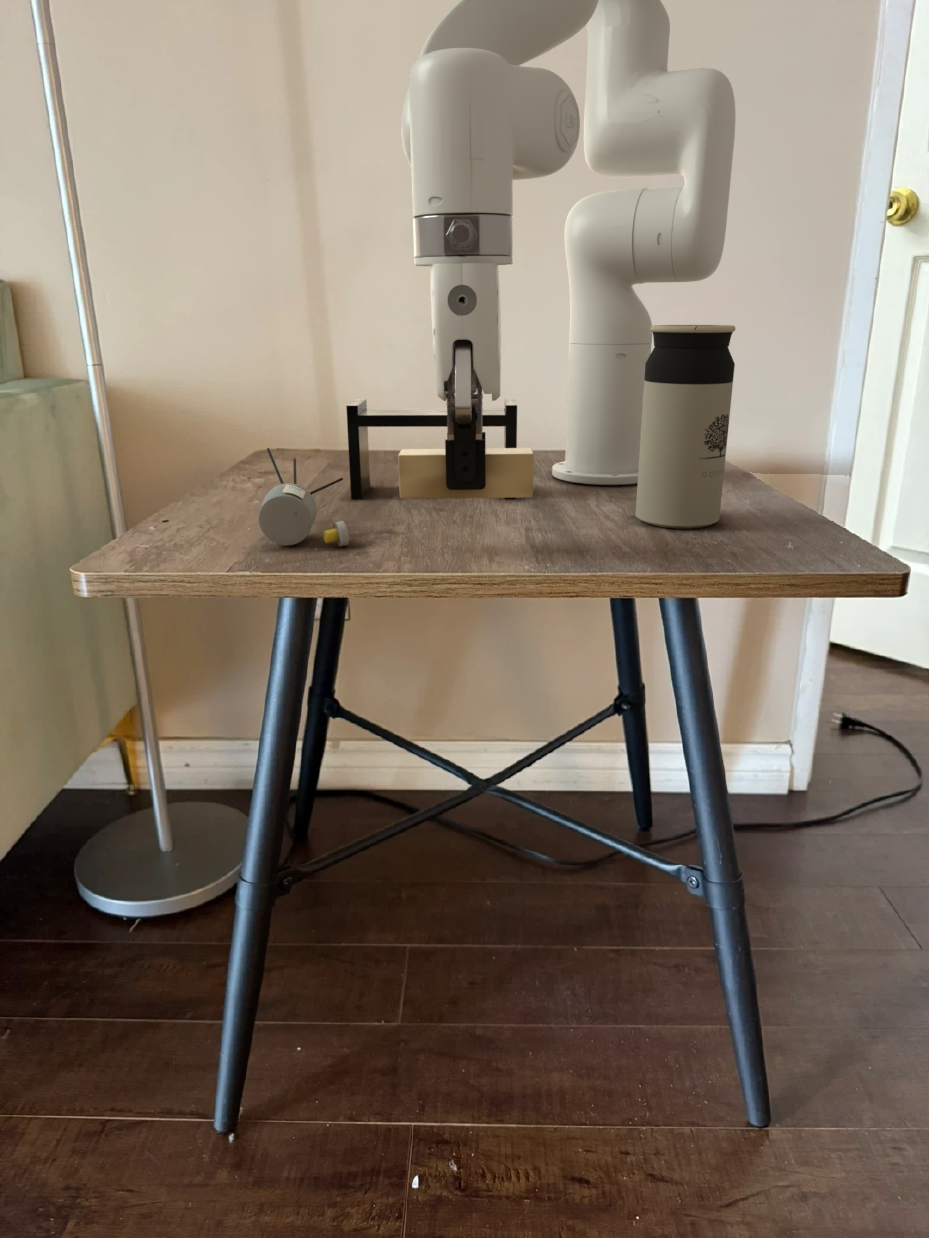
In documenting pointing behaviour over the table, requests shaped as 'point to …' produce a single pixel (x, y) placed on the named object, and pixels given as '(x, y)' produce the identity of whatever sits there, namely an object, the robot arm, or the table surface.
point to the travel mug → (685, 425)
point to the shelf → (408, 417)
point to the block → (503, 480)
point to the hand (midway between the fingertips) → (466, 482)
